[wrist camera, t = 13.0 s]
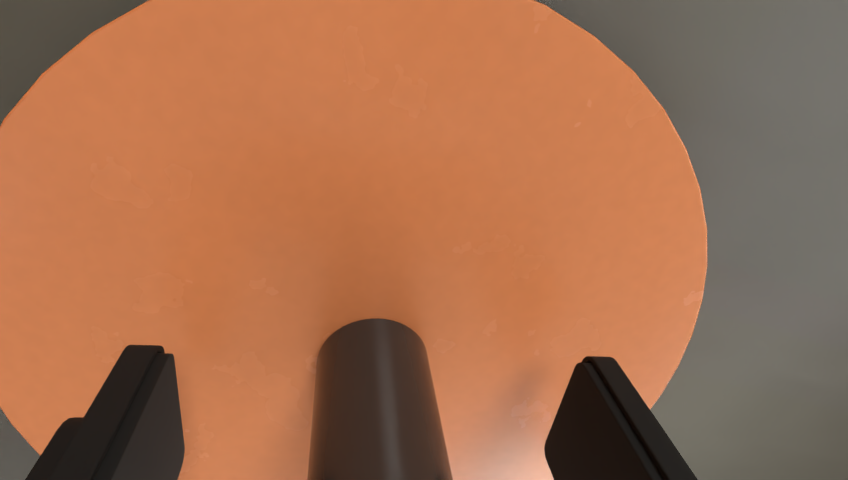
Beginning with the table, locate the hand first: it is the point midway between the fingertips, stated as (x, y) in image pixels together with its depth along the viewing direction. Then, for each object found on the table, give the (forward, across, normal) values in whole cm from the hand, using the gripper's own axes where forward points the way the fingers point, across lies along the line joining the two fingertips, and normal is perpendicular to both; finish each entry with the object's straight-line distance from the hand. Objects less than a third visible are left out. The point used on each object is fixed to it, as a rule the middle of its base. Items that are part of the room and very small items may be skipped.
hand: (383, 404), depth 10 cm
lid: (+2, 0, 0) cm, 2 cm away
